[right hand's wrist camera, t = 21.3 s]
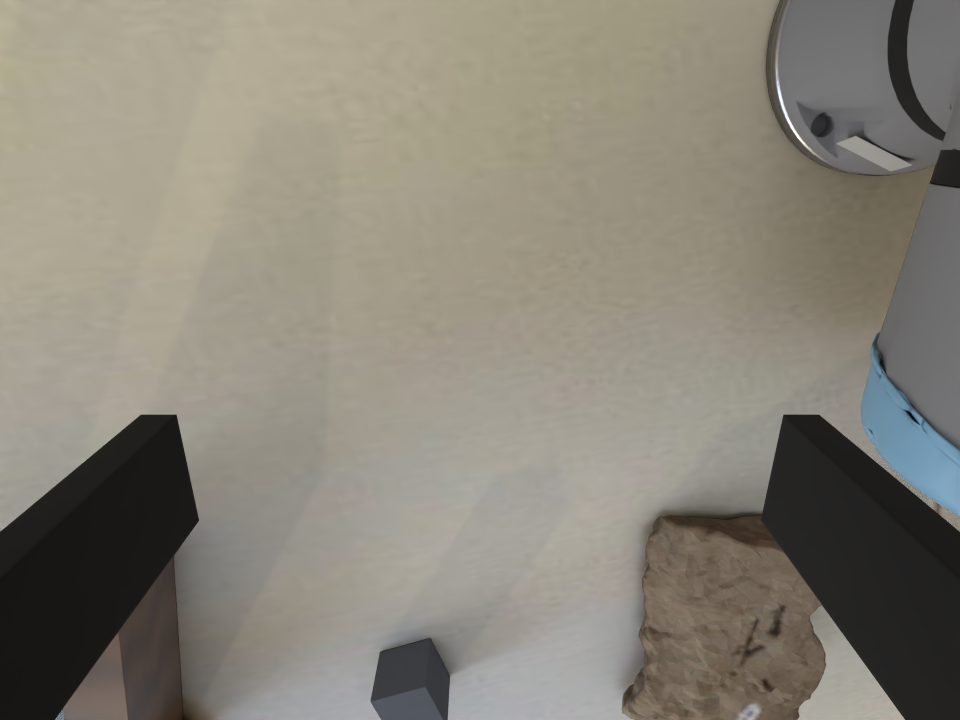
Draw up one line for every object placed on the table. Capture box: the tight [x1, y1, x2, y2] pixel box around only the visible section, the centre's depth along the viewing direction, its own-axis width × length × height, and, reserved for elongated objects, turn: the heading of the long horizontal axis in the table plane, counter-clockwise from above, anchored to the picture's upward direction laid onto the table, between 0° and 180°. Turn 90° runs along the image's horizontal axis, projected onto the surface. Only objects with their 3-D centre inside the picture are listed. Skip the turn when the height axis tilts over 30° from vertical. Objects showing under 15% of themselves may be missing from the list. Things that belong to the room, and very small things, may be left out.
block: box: [371, 638, 450, 720], centre depth 51 cm, size 5×5×5 cm
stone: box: [622, 515, 826, 720], centre depth 49 cm, size 21×15×6 cm
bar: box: [62, 557, 183, 720], centre depth 49 cm, size 26×5×8 cm, turn 172°
